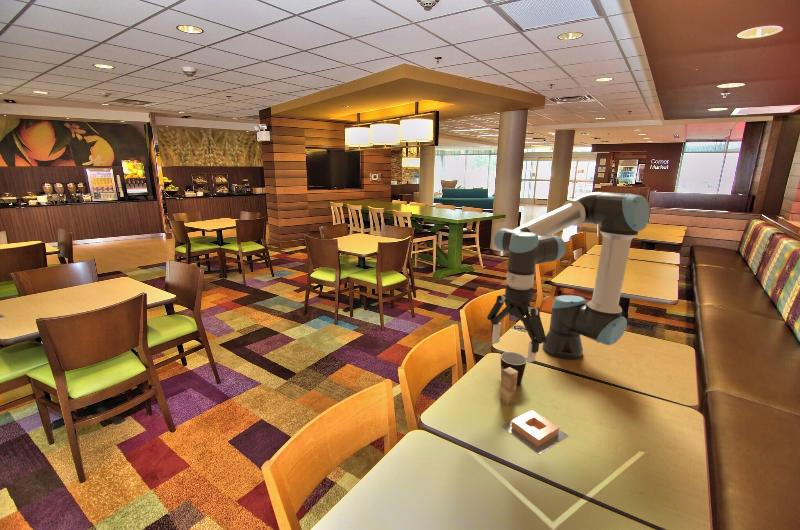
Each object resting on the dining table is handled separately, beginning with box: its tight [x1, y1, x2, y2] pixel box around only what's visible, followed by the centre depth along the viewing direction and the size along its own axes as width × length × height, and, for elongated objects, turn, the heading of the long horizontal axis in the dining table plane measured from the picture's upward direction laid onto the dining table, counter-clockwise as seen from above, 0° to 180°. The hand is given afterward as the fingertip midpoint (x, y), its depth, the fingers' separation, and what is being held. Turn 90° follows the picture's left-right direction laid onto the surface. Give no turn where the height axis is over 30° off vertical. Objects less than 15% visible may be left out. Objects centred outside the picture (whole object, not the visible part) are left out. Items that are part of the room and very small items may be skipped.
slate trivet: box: [501, 410, 570, 456], centre depth 107 cm, size 13×13×1 cm
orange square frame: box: [511, 409, 560, 447], centre depth 106 cm, size 9×9×2 cm
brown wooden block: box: [499, 367, 518, 406], centre depth 118 cm, size 3×3×12 cm
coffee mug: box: [500, 351, 528, 388], centre depth 131 cm, size 12×9×10 cm
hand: (512, 351), depth 115 cm, fingers open, 13 cm apart
